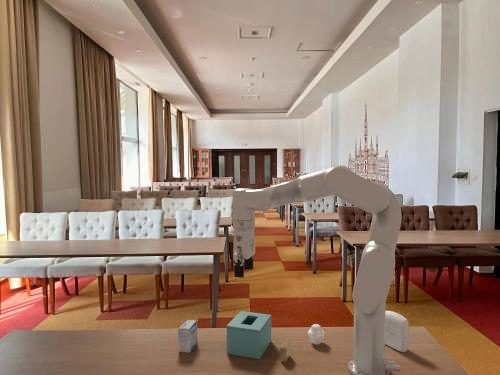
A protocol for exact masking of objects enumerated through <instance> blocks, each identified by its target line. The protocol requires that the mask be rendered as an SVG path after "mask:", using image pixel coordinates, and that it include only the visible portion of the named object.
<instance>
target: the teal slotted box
mask: <svg viewBox="0 0 500 375" xmlns="http://www.w3.org/2000/svg"><path fill="white" fill-rule="evenodd" d="M271 342H272V314H269V313H268V314H266V313H260V312H259V313H258V312H254V311H253V312H251V311H243V310H240V311H239V312H238V313H237V314H236V315H235V316H234V318H232V319H231V321H230V322H228V324H227V325H226V355H233V356H237V357H245V358H250V359H257V360H260V359H261V358H262V357H263V355H264V353H265V352H266V351H267V349H268V347H269V346H268V345H270V344H271ZM269 343H270V344H269ZM267 346H268V347H267ZM266 348H267V349H266Z"/></svg>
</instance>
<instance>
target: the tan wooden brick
mask: <svg viewBox="0 0 500 375" xmlns="http://www.w3.org/2000/svg"><path fill="white" fill-rule="evenodd" d="M290 344H291V343H290V341H288V340H287V341H286V340H283V342H282V344H281V345H280V349H279V350H280V357H279V358H280V360H279V362H280V361H281V363H284V362H286V363H288V360H289V358H290V356H291V352H290V351H291V350H290V347H291V345H290Z"/></svg>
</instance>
